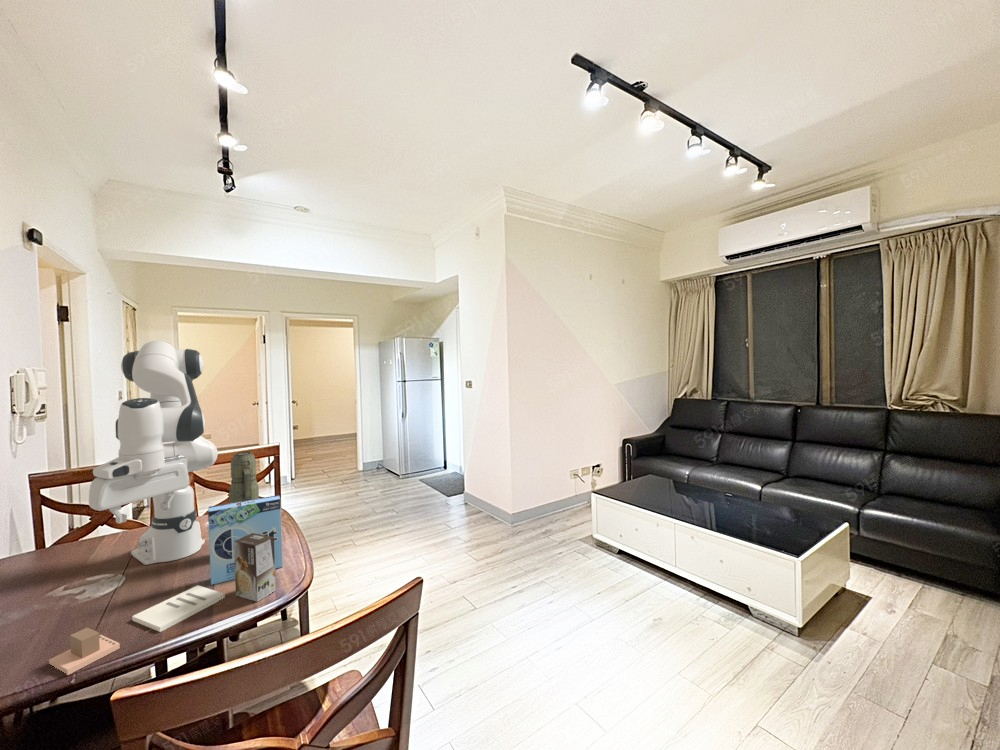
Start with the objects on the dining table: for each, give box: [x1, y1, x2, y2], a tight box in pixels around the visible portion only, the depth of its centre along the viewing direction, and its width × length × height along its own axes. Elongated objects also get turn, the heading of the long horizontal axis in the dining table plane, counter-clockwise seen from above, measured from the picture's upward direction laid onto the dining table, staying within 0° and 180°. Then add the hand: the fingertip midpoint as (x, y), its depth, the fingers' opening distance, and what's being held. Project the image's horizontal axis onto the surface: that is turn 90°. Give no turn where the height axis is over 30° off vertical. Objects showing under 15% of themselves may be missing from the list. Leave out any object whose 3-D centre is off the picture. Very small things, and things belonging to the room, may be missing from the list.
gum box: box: [207, 494, 284, 586], centre depth 131 cm, size 19×5×23 cm, turn 123°
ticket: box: [131, 584, 226, 633], centre depth 112 cm, size 12×16×1 cm
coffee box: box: [234, 533, 277, 602], centre depth 119 cm, size 9×6×16 cm
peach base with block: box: [48, 627, 121, 676], centre depth 94 cm, size 8×9×5 cm
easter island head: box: [228, 451, 260, 503], centre depth 145 cm, size 9×12×35 cm
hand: (144, 515), depth 106 cm, fingers open, 8 cm apart
